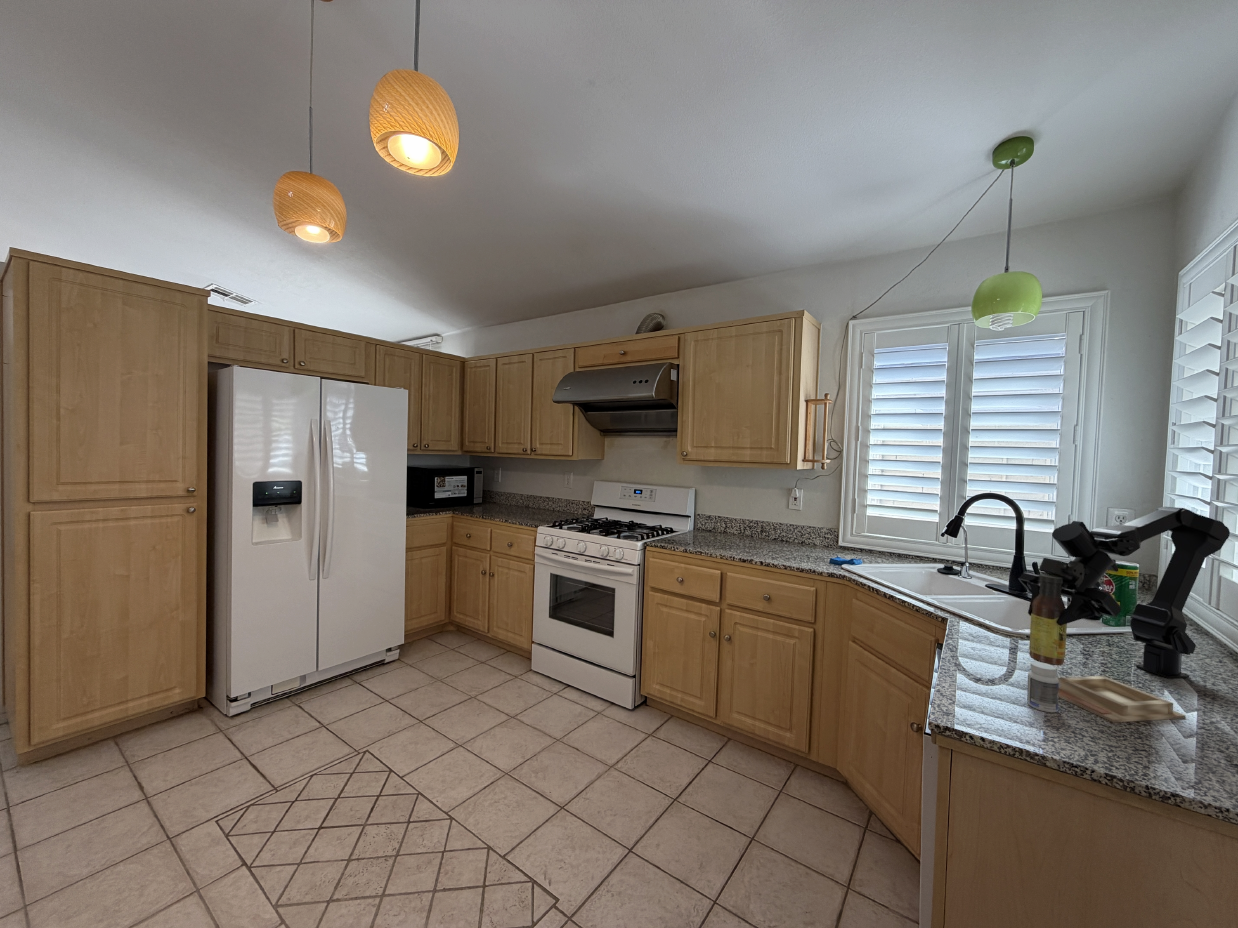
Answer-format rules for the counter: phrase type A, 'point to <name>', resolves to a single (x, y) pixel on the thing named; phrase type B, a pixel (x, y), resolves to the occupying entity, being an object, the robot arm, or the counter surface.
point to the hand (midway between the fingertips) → (1043, 619)
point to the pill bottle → (1043, 687)
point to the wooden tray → (1115, 699)
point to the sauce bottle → (1048, 622)
